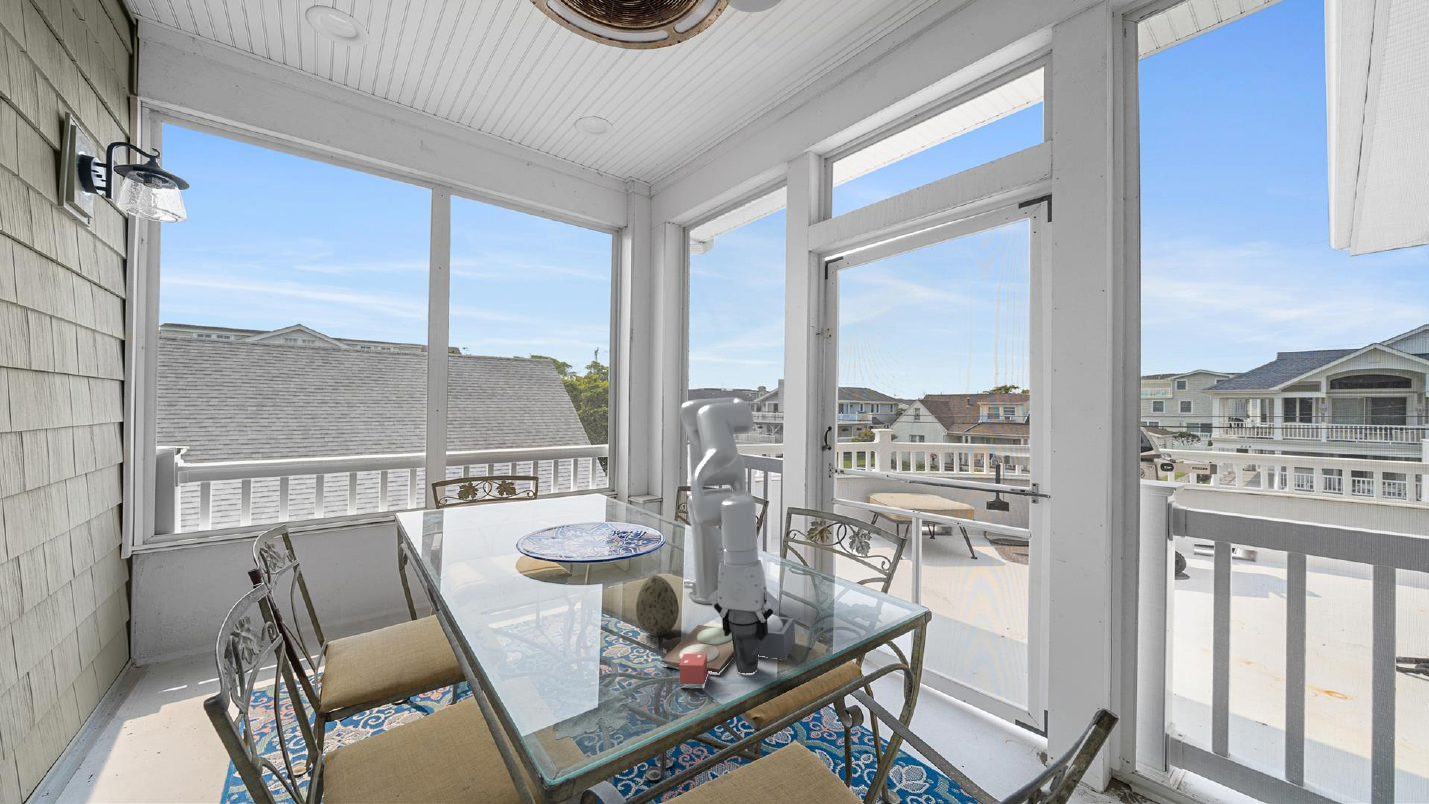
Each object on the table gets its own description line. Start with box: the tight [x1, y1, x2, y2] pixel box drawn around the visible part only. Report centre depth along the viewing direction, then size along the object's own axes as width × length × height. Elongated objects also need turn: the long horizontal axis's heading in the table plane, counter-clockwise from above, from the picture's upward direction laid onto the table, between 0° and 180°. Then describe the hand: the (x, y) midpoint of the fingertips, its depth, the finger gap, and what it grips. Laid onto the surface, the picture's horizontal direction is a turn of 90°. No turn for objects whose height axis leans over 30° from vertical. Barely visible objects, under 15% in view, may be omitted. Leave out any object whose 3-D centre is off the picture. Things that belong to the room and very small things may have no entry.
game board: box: [661, 624, 735, 673], centre depth 136 cm, size 14×20×2 cm
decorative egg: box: [635, 574, 680, 637], centre depth 147 cm, size 11×11×15 cm
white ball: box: [767, 614, 783, 632], centre depth 136 cm, size 6×6×6 cm
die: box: [679, 654, 709, 685], centre depth 123 cm, size 5×5×5 cm
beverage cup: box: [728, 610, 759, 674], centre depth 126 cm, size 7×7×20 cm
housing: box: [758, 616, 796, 661], centre depth 136 cm, size 9×9×6 cm
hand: (745, 635), depth 126 cm, fingers closed on beverage cup, 7 cm apart
